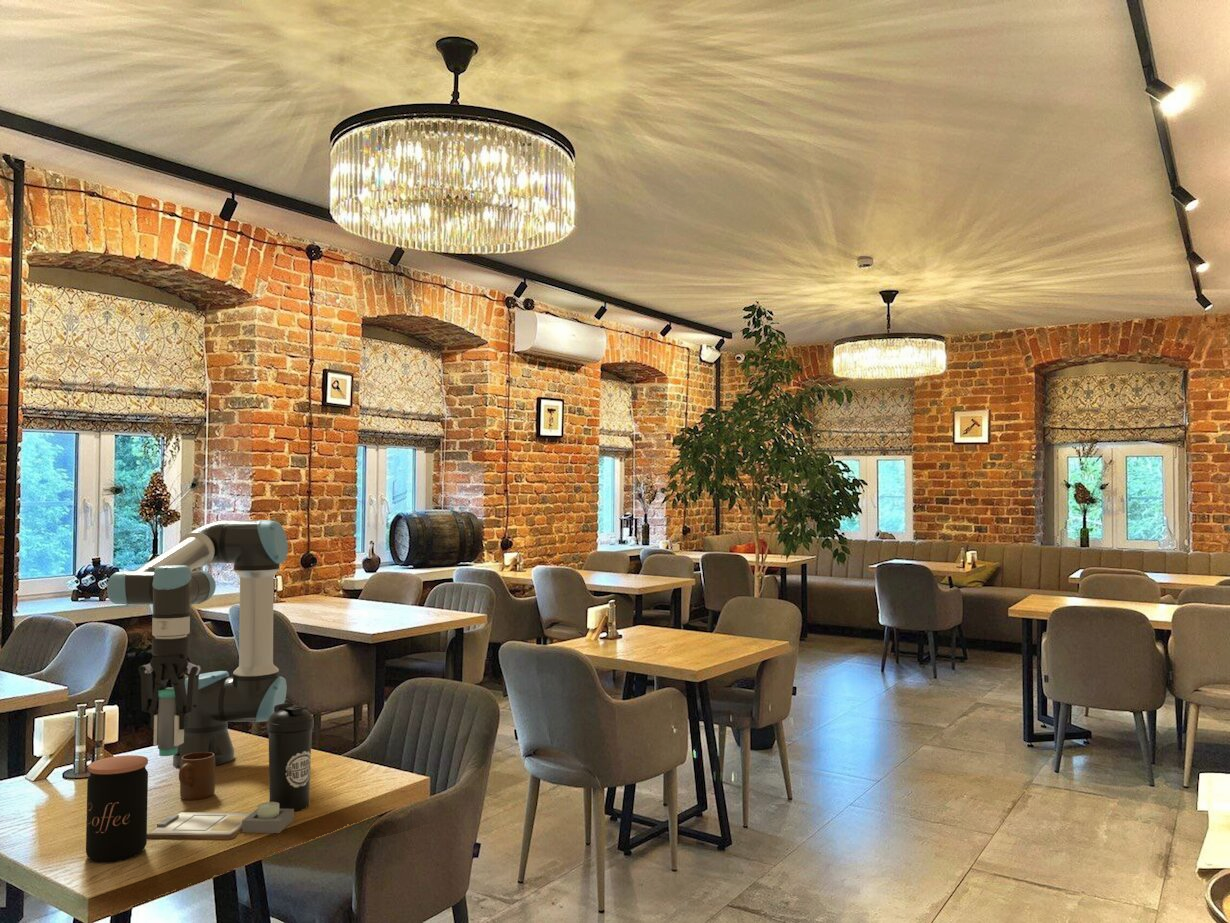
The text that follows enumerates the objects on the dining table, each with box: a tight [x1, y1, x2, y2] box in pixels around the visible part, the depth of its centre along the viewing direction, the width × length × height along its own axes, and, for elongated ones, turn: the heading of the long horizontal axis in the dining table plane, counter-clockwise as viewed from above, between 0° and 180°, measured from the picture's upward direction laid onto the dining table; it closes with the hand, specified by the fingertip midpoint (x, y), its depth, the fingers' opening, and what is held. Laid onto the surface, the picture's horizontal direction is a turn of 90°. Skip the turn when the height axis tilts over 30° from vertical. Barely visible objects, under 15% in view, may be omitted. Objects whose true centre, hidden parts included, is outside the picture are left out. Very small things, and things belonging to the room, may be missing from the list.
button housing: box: [241, 808, 295, 834], centre depth 204 cm, size 8×8×2 cm
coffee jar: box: [85, 754, 149, 864], centre depth 188 cm, size 11×11×18 cm
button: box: [257, 801, 279, 819], centre depth 204 cm, size 4×4×3 cm
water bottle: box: [266, 702, 315, 813], centre depth 217 cm, size 10×10×23 cm
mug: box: [178, 752, 216, 801], centre depth 223 cm, size 12×8×9 cm, turn 178°
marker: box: [157, 686, 179, 757], centre depth 207 cm, size 4×4×14 cm
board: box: [147, 811, 252, 840], centre depth 203 cm, size 14×18×2 cm
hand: (168, 744), depth 207 cm, fingers closed on marker, 4 cm apart
